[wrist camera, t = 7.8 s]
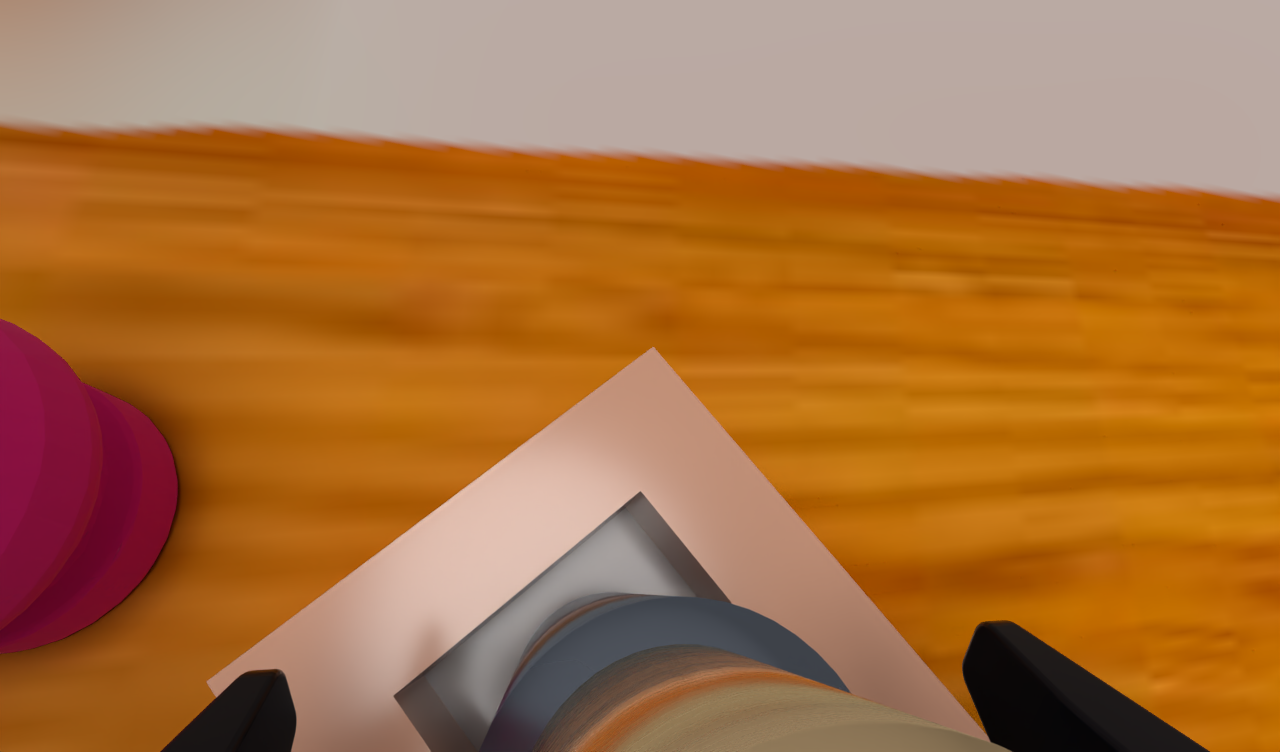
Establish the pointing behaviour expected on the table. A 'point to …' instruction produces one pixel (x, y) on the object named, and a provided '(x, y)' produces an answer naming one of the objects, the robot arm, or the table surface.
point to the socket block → (573, 577)
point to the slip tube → (691, 687)
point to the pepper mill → (72, 496)
